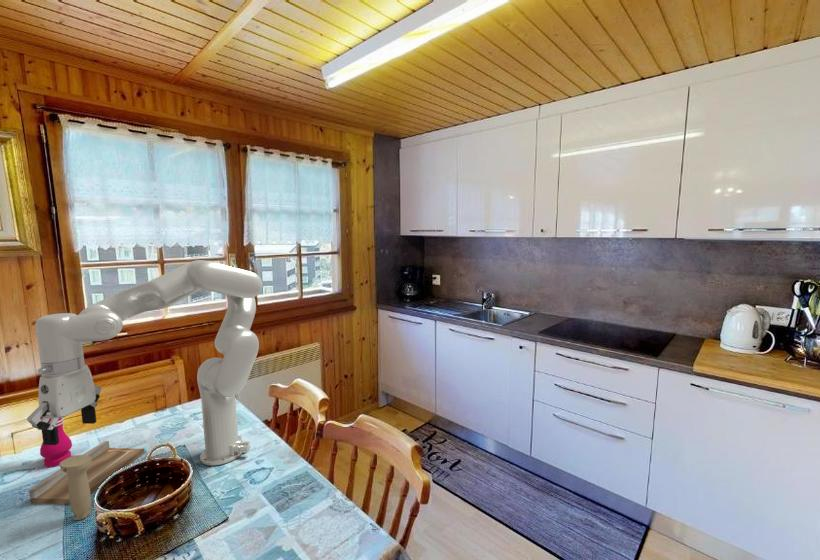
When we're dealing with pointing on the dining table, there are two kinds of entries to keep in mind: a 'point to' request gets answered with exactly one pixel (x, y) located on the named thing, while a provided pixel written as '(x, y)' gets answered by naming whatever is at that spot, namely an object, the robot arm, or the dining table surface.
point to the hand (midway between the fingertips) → (71, 433)
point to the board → (97, 472)
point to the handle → (78, 484)
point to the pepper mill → (56, 447)
